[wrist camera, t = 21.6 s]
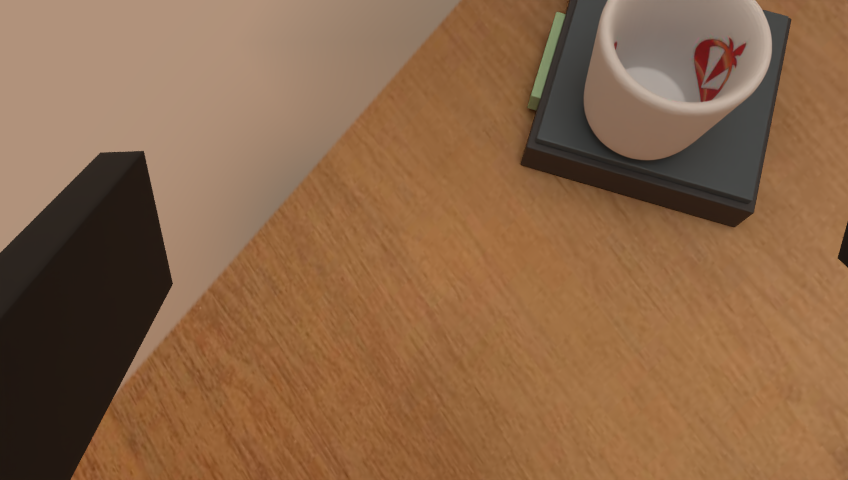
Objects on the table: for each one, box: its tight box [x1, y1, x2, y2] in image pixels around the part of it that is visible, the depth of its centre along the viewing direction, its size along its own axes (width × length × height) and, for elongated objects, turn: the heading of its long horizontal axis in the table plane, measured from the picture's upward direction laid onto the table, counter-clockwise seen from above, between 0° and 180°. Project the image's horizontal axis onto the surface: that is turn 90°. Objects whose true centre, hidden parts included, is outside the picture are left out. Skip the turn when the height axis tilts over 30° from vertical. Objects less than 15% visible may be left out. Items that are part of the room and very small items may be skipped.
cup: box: [584, 0, 772, 160], centre depth 38 cm, size 11×8×8 cm
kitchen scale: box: [521, 0, 791, 227], centre depth 43 cm, size 14×13×3 cm
